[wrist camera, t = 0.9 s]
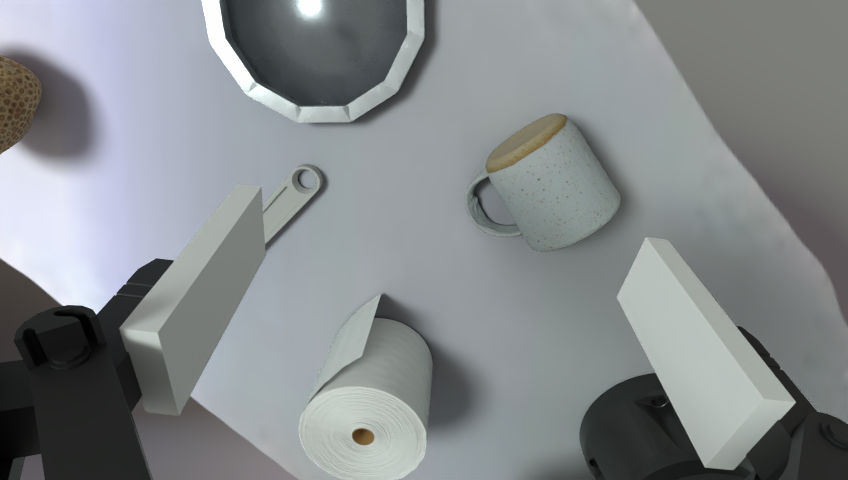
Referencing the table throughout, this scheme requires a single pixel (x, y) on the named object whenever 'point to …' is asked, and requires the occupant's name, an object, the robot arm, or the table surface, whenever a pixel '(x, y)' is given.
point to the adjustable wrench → (288, 200)
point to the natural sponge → (16, 101)
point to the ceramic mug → (547, 186)
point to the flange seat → (317, 52)
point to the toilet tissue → (370, 401)
